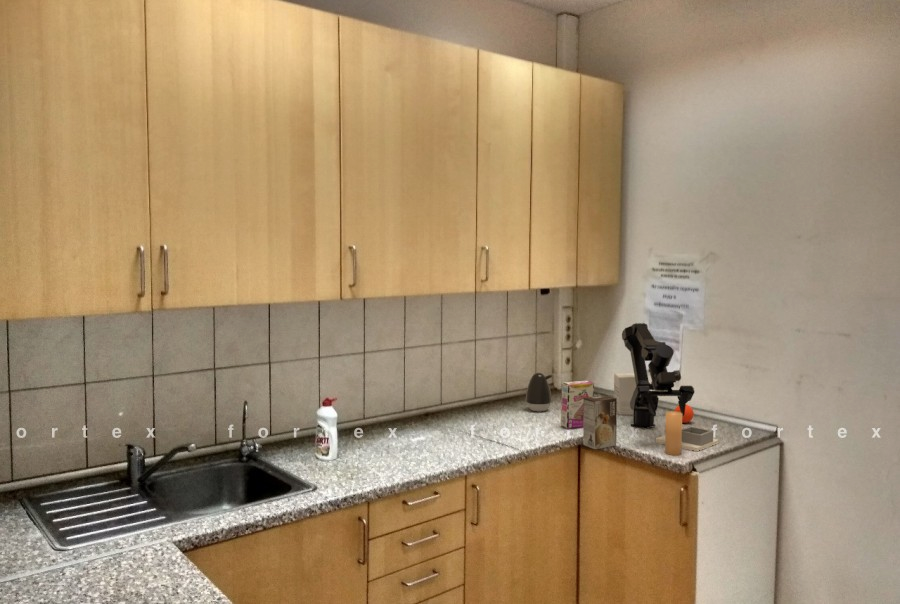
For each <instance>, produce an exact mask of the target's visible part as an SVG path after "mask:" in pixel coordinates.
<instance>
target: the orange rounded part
mask: <svg viewBox="0 0 900 604" xmlns="http://www.w3.org/2000/svg"><path fill="white" fill-rule="evenodd" d="M664 427H665V431H664V436H665V444H664V453H665V454H666V455H667V456H668V455H669V456H673V457H674V456H682V448H681V445H682V429H683V423H682V413H681V412H676V411H675V410H674V411H672V410H671V411H665V426H664Z"/></svg>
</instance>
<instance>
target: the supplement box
mask: <svg viewBox="0 0 900 604" xmlns="http://www.w3.org/2000/svg"><path fill="white" fill-rule="evenodd" d="M635 388H636V381H635V376H634V372H633V373H632V372H631V373H630V372H629V373H627V372H626V373H623V372H622V373H621V372H620V373H616V372H615V373H613V398H617V415H619V416H633V415H634V411H633V410H632V409H631V408H630V401H631V399H632V396H633V392H634V390H635Z"/></svg>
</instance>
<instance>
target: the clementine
mask: <svg viewBox="0 0 900 604" xmlns="http://www.w3.org/2000/svg"><path fill="white" fill-rule="evenodd" d="M674 411H676V412H681V411H680V407H679V404H678V405H677V406H676V407H675V409H674ZM694 415H695V412H694V410H693V408H692V407H691V406H690V405H689V404H686V406H685V414H684V416H682V424H686V423H689V422H691V421H692V420H693V418H694Z"/></svg>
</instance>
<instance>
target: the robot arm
mask: <svg viewBox="0 0 900 604" xmlns="http://www.w3.org/2000/svg"><path fill="white" fill-rule="evenodd" d="M621 339H622V341H623V344H624V347H625V348H626V349H627V350H628V351H629V352H630V358H631V363H632V368H633V373H634V376H635V381H636V388H635V390H634V392H633V396H632V399H631V401H630V408H631V409H632V410H633V411H634V415H632V416H633V418H632V419H633V420H632V421H633V422H632V423H631V424H630V426H631V427H636V428H640V429H644V430H647V429H650V428H653V427H655V426H656V424H655V417H657V413H656V412H657V409H658V406H659V400H660V398H659V397H677V400H678V402H677V404H678V405H679V407H680V411H681V413H682V416H684V414H685V406H686V405H687V403H689V402H690V401H691V400H692V398H693V396H694V394H695V392H696V391H695V387H694V386H693V385H680V387H679V389H673V388H674V387H675V384H674V383H676V382H679V381H681V380H682V376H681V371H680V370H673V371H668V368H667V367H668V366H669V365H670V363H671V361H672V359H673V356H674V353H675V351H674V349H673V348H672V347H671V346H669V345H668V344H666V342H665V341H663V342H662V341H658V340H656V339H655V338H654V336H653V335H652V332H651V331H650V330H649V327H648V323H645V322H642V323H640V322H639V323H637V322H636V323H633V324H631V325H630V326H628V327H624V329H623V330H622V332H621ZM646 362H649V363H648V369H647V365H646ZM648 373H649V375H650V379H651V383H650V382H649V381H650V380H649V375H648Z"/></svg>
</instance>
